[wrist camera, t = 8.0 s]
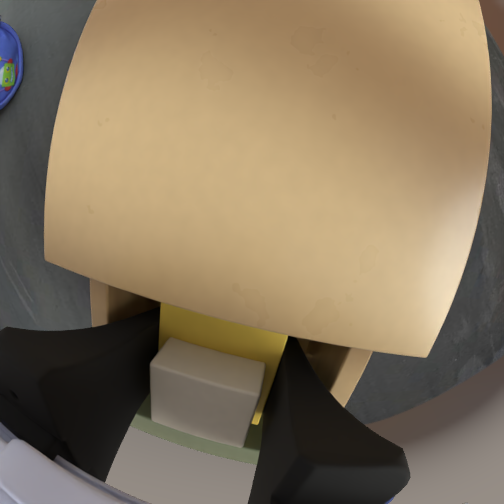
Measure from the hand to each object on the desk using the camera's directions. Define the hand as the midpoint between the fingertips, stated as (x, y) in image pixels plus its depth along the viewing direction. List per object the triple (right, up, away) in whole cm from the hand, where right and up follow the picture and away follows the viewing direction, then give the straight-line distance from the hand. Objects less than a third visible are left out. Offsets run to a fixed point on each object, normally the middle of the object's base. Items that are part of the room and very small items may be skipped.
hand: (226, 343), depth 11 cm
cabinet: (+3, +10, +2) cm, 11 cm away
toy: (0, 0, +1) cm, 1 cm away
